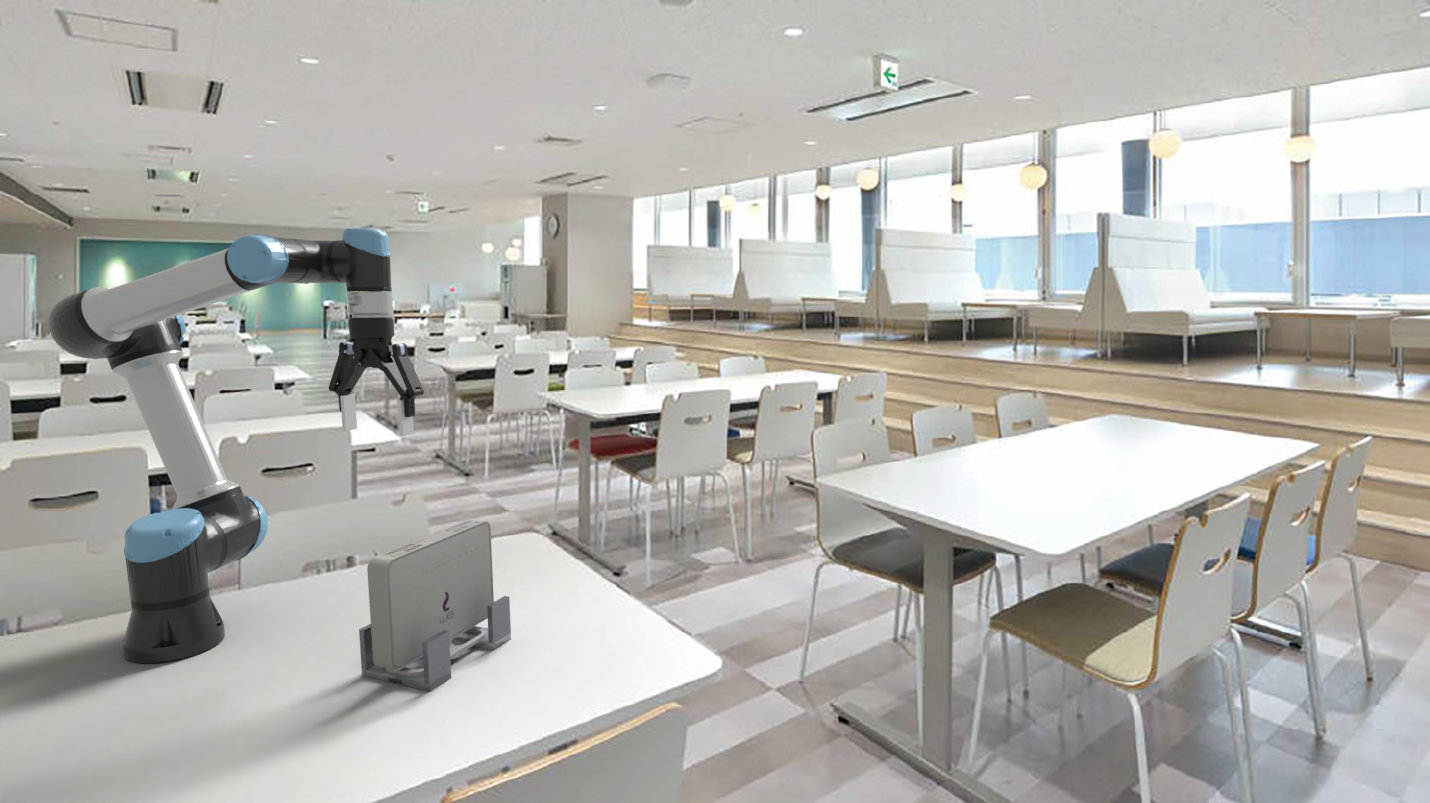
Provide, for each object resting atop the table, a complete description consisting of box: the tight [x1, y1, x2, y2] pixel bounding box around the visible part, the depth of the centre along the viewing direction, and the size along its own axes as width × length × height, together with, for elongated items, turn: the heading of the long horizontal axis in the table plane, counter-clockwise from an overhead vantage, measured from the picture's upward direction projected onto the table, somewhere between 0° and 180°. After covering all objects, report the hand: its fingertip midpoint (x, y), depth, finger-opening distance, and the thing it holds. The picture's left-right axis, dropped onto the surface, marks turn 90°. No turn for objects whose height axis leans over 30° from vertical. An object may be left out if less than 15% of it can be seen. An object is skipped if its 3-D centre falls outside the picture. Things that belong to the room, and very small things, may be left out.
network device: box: [366, 518, 495, 676], centre depth 140 cm, size 26×9×20 cm, turn 158°
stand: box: [358, 595, 512, 692], centre depth 141 cm, size 14×21×8 cm, turn 158°
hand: (377, 432), depth 151 cm, fingers open, 13 cm apart
